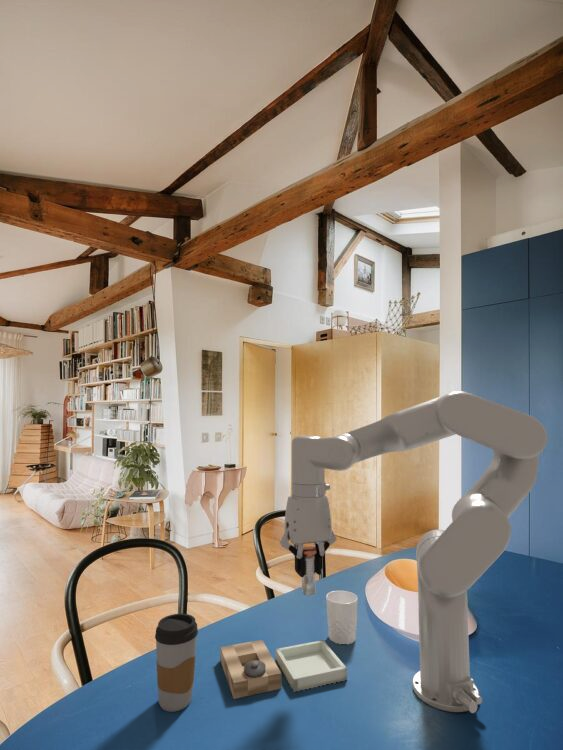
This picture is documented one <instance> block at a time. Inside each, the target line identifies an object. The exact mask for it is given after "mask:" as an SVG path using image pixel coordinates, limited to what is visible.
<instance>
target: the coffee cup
mask: <svg viewBox="0 0 563 750" xmlns="http://www.w3.org/2000/svg"><path fill="white" fill-rule="evenodd" d="M198 634H199V631H198V623H197V622H196V618H195V617H194V616H193V615H192V614H188V613H173V614H169V615H166V616H164V617H162V618H161V619H160V620H158V623H157V626H156V628H155V634H154V638H155V645H156V677H157V679H156V680H157V681H156V683H157V689H158V690H157V692H158V704H159V706H160V708H161V709H162V710H164V711H166V712H178V711H181V710H184V709H185V708H187V707H189V704H190V703H191V701H192V698H193V692H194V691H193V690H194V680H195V670H196V669H195V667H196V651H197V648H196V647H197V637H198Z"/></svg>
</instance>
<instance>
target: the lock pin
mask: <svg viewBox="0 0 563 750" xmlns="http://www.w3.org/2000/svg"><path fill="white" fill-rule="evenodd" d="M315 555H317V548H315V546H309V545H305V546H304V545H303V551H302V557H303V558H304V577H301V594H303V595H304V596H313V595H316V572H315Z"/></svg>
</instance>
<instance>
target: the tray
mask: <svg viewBox="0 0 563 750" xmlns="http://www.w3.org/2000/svg"><path fill="white" fill-rule="evenodd" d="M276 661H277V662H276ZM275 662H276V664H277V663H278V664H277V666H278V665H279V666H280V667H279V666H278V667H279V669H280V668H281V669H280V671H281V670H282V671H281V673H282V672H283V673H284V674H283V673H282V674H283V676H284V675H285V676H284V677H286V678H285V679H286V681H287V680H288V681H287V683H288V685H289V684H290V685H289V686H290V688H291V690H292V689H293V690H292V691H294V692H293V693H296V692H295V691H298V692H300V691H299V690H302V691H306V690H305V689H307V690H309V688H311V689H315V688H319V687H318V686H320V687H323V686H322V685H324V686H327V685H326V684H329V685H332V684H331V683H333V684H336V682H338V683H340V682H339V681H342V682H346V681H345V680H347V681H348V670H347V669H348V668H347V667H346V665H345V664H344V663H343V661H341V659H340V658H339V656H338V655H336V653H335V652H334V650H332V648H331V647H330V646H329V645H328V643H326V642H325V640H322V639H321V640H315V641H312V642H311V641H310V642H305V643H299V644H295V645H290V646H285V647H279V648H275ZM314 687H315V688H314Z"/></svg>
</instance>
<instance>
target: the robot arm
mask: <svg viewBox="0 0 563 750" xmlns="http://www.w3.org/2000/svg"><path fill="white" fill-rule="evenodd" d="M455 435H457V436H459V437H462V438H463V439H466V440H468V441H470V442H473V443H475V444H478V445H481V446H483V447H486V448H487V449H491V450H493V456H492V459H491V463H489V466H488V467H487V468H486V470H485V471H484V472H483V473H482V474H481V475H480V477H479V478H478V479H477V481H476V482H475V483H474V484H473V485H472V486H471V487H470V488H469V490H467V492H465V493H464V495H462V497H460V498H459V499H458V500H457V501H456V503H455V504H454V506H453V508H452V511H451V519H452V522H451V523H450V524H449V525H448V526H447V527H446V529H445V530H443V529H431V530H428V531H427V532H425V533H424V534H423V535H422V536H421V538H420V539H419V541H418V543H417V546H416V568H417V571H416V572H417V573H416V574H417V598H418V609H417V610H418V634H419V635H418V639H419V641H418V642H419V643H418V645H419V671H417V673H415V674H414V675H413V678H412V688H413V691H414V693H415V694H416V696H417V697H418V698H419V699H420V700H422V702H424V703H425V704H427V705H429V706H431V707H433V708H435V709H438V710H441V711H444V712H450V713H464V712H469V713H471V714H475V713H476V712H477V710H478V707H479V706H478V705H481V704H482V703H483V698H482V696H480V692H479V689H478V687H477V686H476V684H475V683H474V679H473V678H472V677H471V675H470V674H471V673H470V672H471V671H470V670H471V669H470V645H469V616H468V615H469V610H468V606H469V605H468V592H467V591H468V590H469V589H470V588H471V587H472V586H473V585H474V584H475V583H476V582H477V581H478V580H479V579H480V578H481V577H482V576H483V574H484V573H485V572H487V570H488V569H489V568H490V567H491V566H492V565H493V564H494V562H496V561H497V560H498V558H499V557H500V556H501V555H502V554H503V553H504V551H505V550H506V548H507V546H508V545H509V543H510V541H511V536H512V526H511V522H510V519H509V518H510V517H511V515H512V514H514V512H515V510H517V508H518V507H519V506H520V505H521V503H522V502H523V501H524V500H525V498H526V497H527V496H528V495H529V493H530V492H531V490H532V489H533V487H534V486H535V484H536V481H537V477H538V472H539V454H542V452H543V451H544V450H545V448H546V446H547V443H548V434H547V430H546V428H545V427H544V425H543V423H541V422H540V421H539V420H538V419H537V418H535V417H534V416H532V415H530V414H527V413H524V412H522V411H519V410H517V409H514V408H511V407H508V406H505V405H503V404H499V403H496V402H494V401H491V400H489V399H486V398H483V397H480V396H478V395H476V394H473V393H470V392H467V391H465V390H464V391H463V390H461V391H460V390H458V391H451V392H450V393H446V394H443V395H440V396H438V397H435V398H431V399H429V400H427V401H424V402H421V403H419V404H415V405H413V406H409V407H407V408H404V409H402V410H399V411H396V412H394V413H391V414H388V415H386V416H385V417H383V418H381V419H379V420H377V421H375V422H373V423H370V424H367V425H365V426H361V427H359V428H358V427H357V428H356V429H353V430H350V431H348V432H343V433H340V434H338V435H335V436H330V437H321V436H320V435H319V436H318V435H298V436H295V437H293V438H292V441H291V495H289V496H287V501H286V507H285V508H286V509H285V514H284V515H285V516H284V528H283V529H284V531H283V535H282V537H281V539H280V540H279V545H280V546H281V547H282V548H284V549H285V550H286V551H287V550H288V551H290V553H291V554H292V555H293V556H294V571H295V573H296V574H297V575H298V576H300V578H302V577H304V558H303V557H302V551H303V547H304V545H306V544H314V546H313V547H315V548H317V555H315V574H317V575H318V576H321V575H322V570H323V567H324V566H323V565H324V563H323V557H324V556H325V554H326V553H325V552H326V551H327V550H328V548H329V547H330V546H332V545H333V544H334V543H335V542H337V536H336V535H335V533H334V531H333V529H332V528H333V527H332V516H331V508H330V504H329V503H330V502H329V498H328V496H327V495H326V491H329V490H331V486H330V484H329V483H326V479H325V477H326V476H325V475H326V474H325V472H326V471H325V470H330V471H336V472H337V471H339V472H343V471H347V470H348V469H350V468H351V467H353V466H354V464H357V463H359V462H363V461H365V460H368V459H370V458H371V459H372V458H374V457H377V456H381V455H385V454H388V453H395V452H399V453H400V452H406V451H411V450H413V449H416V448H419V447H422V446H425V445H428V444H431V443H434V442H437V441H440V440H443V439H447V438H449V437H452V436H455ZM289 541H290V543H289Z"/></svg>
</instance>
